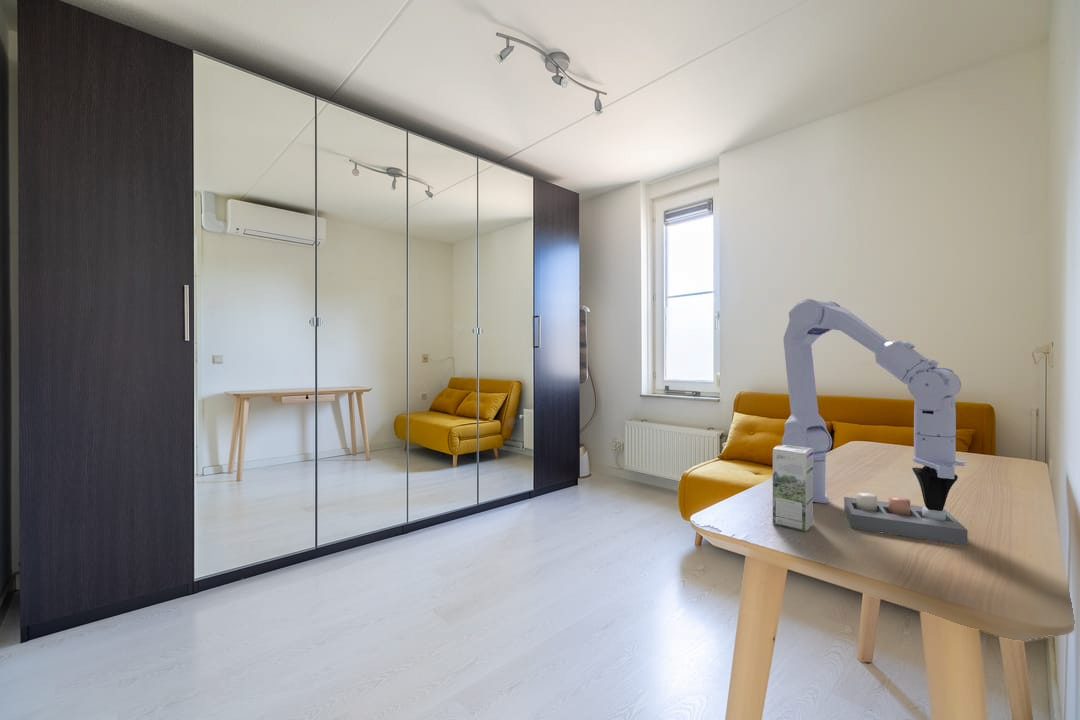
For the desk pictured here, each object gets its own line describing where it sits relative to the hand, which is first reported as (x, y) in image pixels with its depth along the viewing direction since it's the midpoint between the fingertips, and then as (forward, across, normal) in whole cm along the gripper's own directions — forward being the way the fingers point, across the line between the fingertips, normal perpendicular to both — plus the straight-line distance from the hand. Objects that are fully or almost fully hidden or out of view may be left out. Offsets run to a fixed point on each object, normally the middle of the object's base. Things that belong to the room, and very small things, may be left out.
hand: (934, 509), depth 82 cm
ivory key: (+2, 0, +10) cm, 10 cm away
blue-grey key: (+3, 0, 0) cm, 3 cm away
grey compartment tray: (+4, 0, +5) cm, 6 cm away
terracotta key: (+1, 0, +5) cm, 5 cm away
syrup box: (+4, -9, +22) cm, 25 cm away
